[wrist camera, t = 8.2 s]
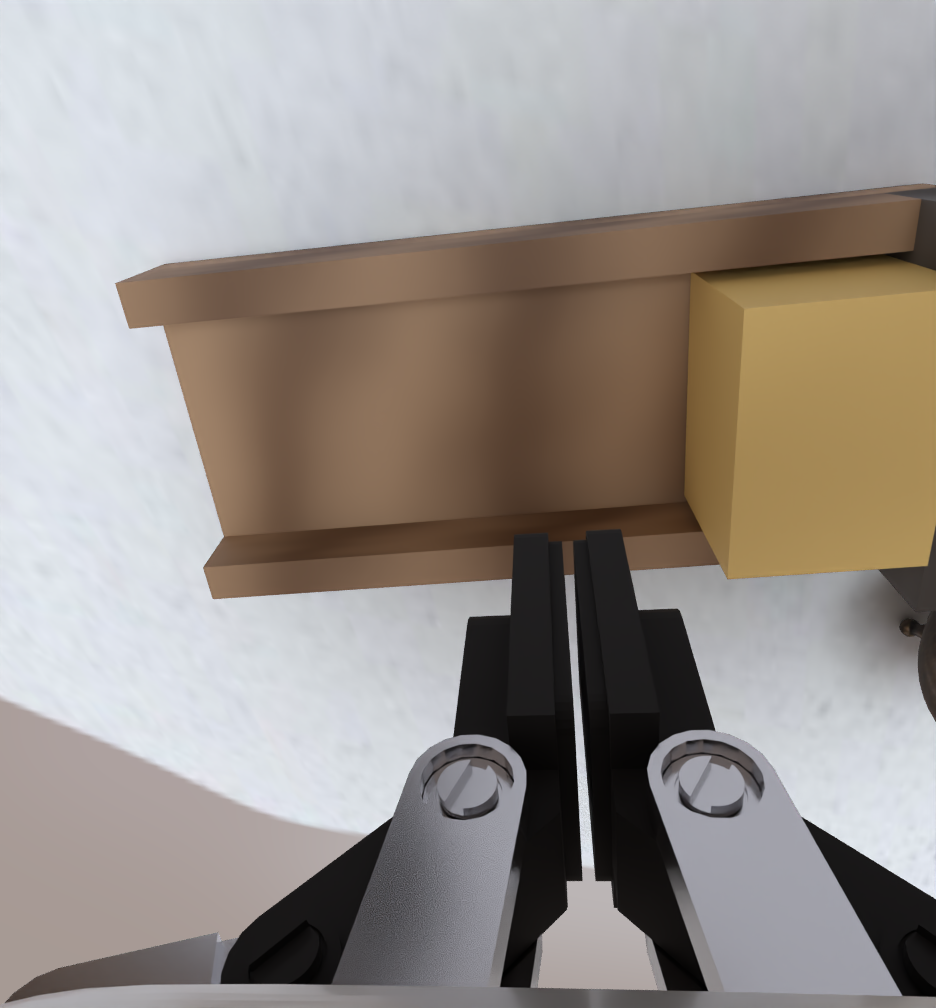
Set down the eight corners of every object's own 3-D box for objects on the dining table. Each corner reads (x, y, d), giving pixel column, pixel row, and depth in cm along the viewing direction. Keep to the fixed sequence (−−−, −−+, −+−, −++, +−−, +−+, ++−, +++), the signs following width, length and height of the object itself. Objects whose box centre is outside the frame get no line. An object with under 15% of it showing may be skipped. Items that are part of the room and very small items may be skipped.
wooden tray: (922, 183, 21) (1079, 202, 15) (872, 502, 25) (979, 608, 19) (164, 264, 22) (53, 307, 17) (243, 549, 27) (176, 657, 21)
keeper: (876, 252, 20) (984, 286, 16) (845, 483, 23) (927, 565, 19) (690, 270, 21) (744, 309, 16) (684, 495, 24) (727, 579, 19)
